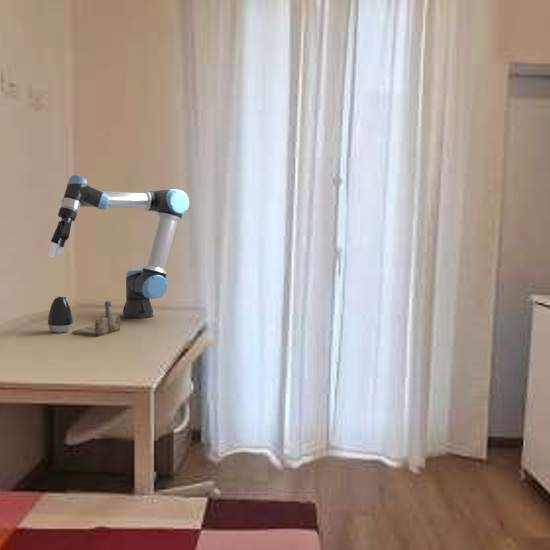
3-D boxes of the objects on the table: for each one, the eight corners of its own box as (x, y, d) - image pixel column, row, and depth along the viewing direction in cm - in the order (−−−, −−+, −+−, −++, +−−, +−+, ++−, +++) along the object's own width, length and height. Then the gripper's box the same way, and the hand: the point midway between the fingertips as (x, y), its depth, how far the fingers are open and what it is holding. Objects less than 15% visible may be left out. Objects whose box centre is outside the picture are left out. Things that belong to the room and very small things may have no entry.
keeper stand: (94, 328, 287) (94, 297, 286) (121, 330, 283) (121, 299, 281) (72, 334, 272) (71, 301, 271) (99, 336, 268) (99, 303, 266)
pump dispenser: (76, 330, 281) (76, 295, 280) (66, 334, 271) (66, 298, 270) (54, 329, 282) (53, 294, 281) (43, 333, 272) (43, 297, 271)
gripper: (53, 211, 291) (38, 255, 286) (68, 202, 270) (53, 250, 266) (69, 216, 295) (55, 260, 290) (85, 208, 274) (70, 255, 269)
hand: (54, 255), depth 278 cm, fingers open, 13 cm apart
